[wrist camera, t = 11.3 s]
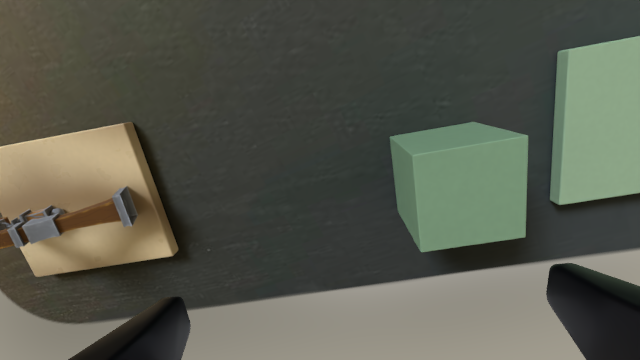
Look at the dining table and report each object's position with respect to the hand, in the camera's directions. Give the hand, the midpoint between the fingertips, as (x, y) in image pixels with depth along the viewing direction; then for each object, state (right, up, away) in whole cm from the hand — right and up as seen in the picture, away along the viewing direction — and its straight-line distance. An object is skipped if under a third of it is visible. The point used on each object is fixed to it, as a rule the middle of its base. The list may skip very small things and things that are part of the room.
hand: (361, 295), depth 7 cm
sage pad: (+15, +6, +8) cm, 18 cm away
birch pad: (-15, +1, +10) cm, 18 cm away
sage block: (+5, +3, +9) cm, 11 cm away
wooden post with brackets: (-15, +1, +10) cm, 18 cm away
